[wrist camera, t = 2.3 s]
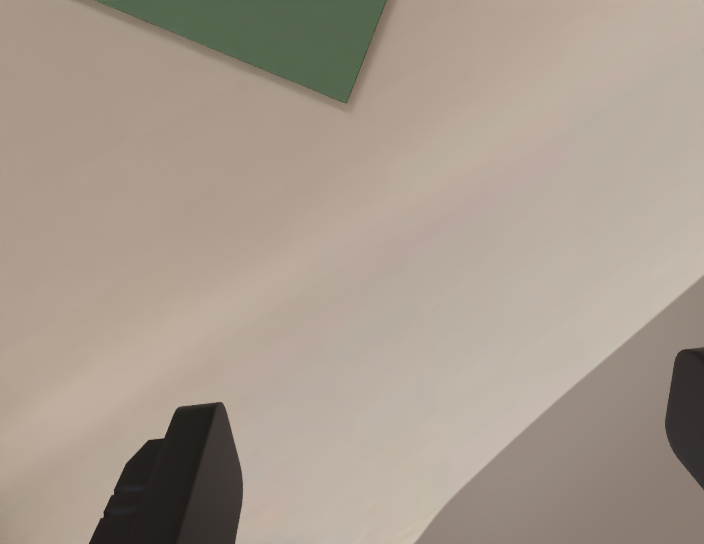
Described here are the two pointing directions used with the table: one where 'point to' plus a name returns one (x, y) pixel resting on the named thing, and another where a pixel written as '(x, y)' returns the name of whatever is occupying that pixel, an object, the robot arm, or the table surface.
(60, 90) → the table surface
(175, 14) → the mat
